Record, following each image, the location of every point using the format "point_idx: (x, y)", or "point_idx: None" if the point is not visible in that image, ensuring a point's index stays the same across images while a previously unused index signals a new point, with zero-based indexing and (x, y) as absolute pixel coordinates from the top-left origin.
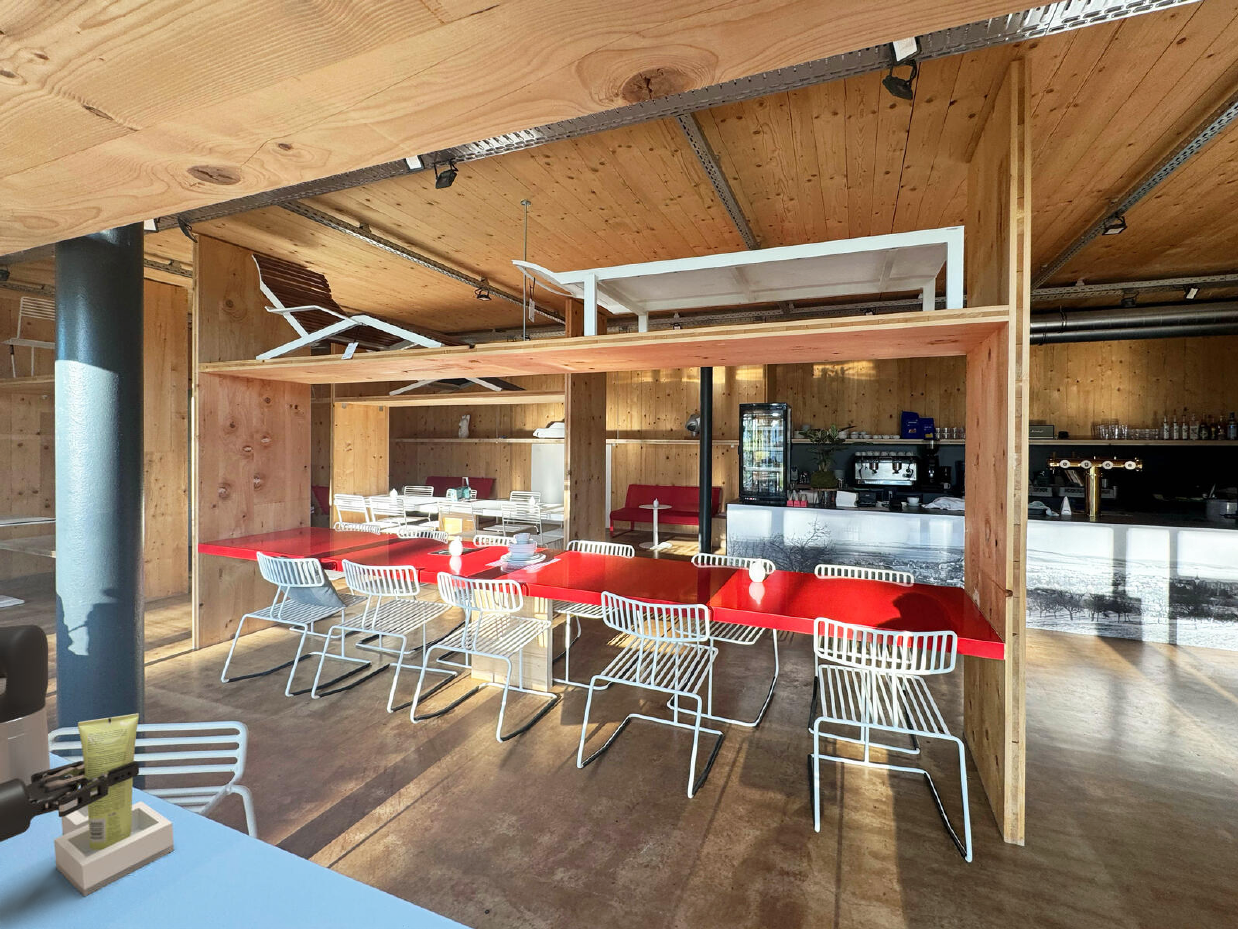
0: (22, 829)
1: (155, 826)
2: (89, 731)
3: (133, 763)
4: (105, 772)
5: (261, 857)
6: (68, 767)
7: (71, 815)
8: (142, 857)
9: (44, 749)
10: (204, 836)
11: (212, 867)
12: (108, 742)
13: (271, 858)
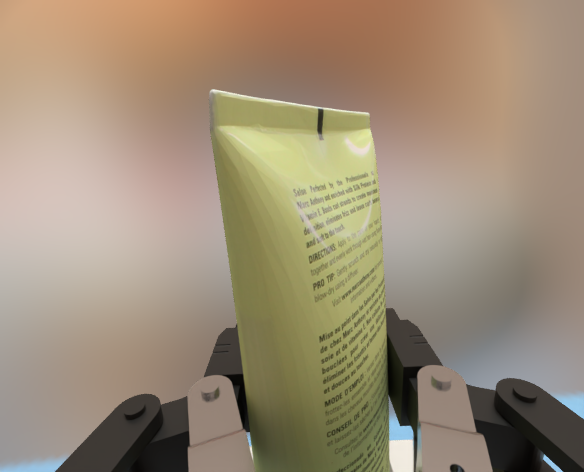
0: None
1: (405, 469)
2: (287, 170)
3: (394, 312)
4: (425, 370)
5: (566, 405)
6: (122, 460)
7: None
8: None
9: None
10: (399, 435)
11: (558, 468)
12: (358, 234)
13: (580, 398)
